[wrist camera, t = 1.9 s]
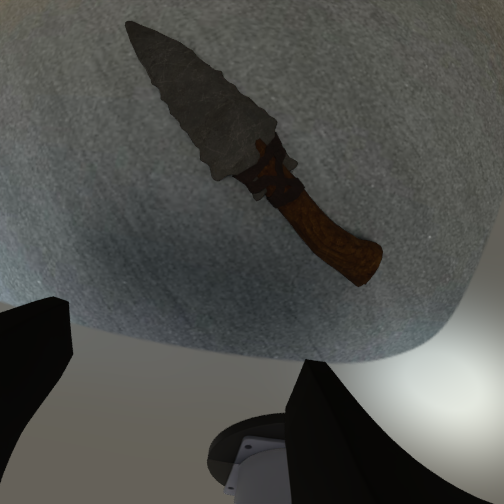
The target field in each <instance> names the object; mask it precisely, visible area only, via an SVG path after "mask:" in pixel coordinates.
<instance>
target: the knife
mask: <svg viewBox="0 0 504 504" xmlns="http://www.w3.org/2000/svg"><path fill="white" fill-rule="evenodd" d="M125 27H126V30H127V33H128V36H129V38H130V41H131V43H132V46H133V48H134V50H135V53H136V55H137V57H138V59H139V60H140V62H141V63H142V65H143V66H144V67H145V69H146V71H147V73H148V75H149V77H150V79H151V83H152V85H155V86H156V87H158V88H159V89H160V93H161V100H163V101H164V102H166V103H167V104H168V107H169V110H170V114H171V115H173V116H174V117H175V118H176V119H177V120H178V121H179V122H180V127H181V128H182V129H183V130H184V131H186V132H187V133H188V135H189V136H190V138H191V140H192V142H193V143H194V144H195V146H196V147H198V148H199V149H200V160H201V161H202V162H204V163H206V164H208V165H209V166H210V171H211V175H212V178H213V179H214V180H216V181H220V180H222V179H223V178H224V177H226V176H227V175H232V177H234V178H236V179H238V180H239V181H240V182H242V183H243V184H245V185H246V187H247V188H248V189H249V191H250V192H251V193H252V195H253V198H254V199H255V200H256V201H258V200H260V199H261V198H262V197H263V196H264V195H266V197H267V200H268V201H269V202H270V203H271V204H272V205H273V207H275V208H277V209H278V210H279V211H280V212H281V213H282V214H283V215H284V217H285V218H286V219H287V220H288V222H289V223H290V224H291V225H292V227H293V228H294V229H295V231H296V232H297V233H298V235H299V236H300V237H301V238H302V239H303V241H304V242H305V243H306V244H307V245H308V247H309V248H310V249H311V250H312V251H313V253H315V254H316V255H317V256H318V257H320V258H321V259H322V260H323V261H325V262H326V263H327V264H329V265H330V266H332V267H333V268H335V269H336V270H337V271H338V272H340V273H341V274H342V275H344V276H345V277H346V278H347V279H348V280H350V281H351V282H352V283H353V284H355V285H356V286H357V287H359V286H362V285H363V284H365V285H366V283H367V282H368V281H369V280H370V279H371V277H372V276H373V275H374V274H375V272H376V270H377V269H378V267H379V265H380V262H381V260H382V255H383V250H382V247H381V246H380V245H379V244H377V243H375V242H372V241H368V240H362V239H358V238H357V237H355V236H353V235H352V234H350V233H348V232H347V231H345V230H344V229H342V228H341V227H339V226H338V225H336V224H335V223H334V222H333V221H332V220H331V219H329V218H328V217H327V216H326V214H325V213H324V212H323V211H322V210H321V209H320V208H319V207H318V206H317V204H316V203H315V202H314V201H313V200H312V199H311V197H310V196H309V195H308V194H307V192H306V191H305V190H304V188H305V187H304V185H303V184H302V183H301V181H300V180H299V179H298V178H295V177H294V176H293V175H292V173H291V172H290V171H291V170H293V169H294V168H295V167H296V166H297V165H298V162H297V161H295V160H293V159H292V158H290V157H289V156H288V155H287V153H286V150H285V149H284V148H283V147H282V143H281V141H280V139H279V137H278V135H277V133H276V132H275V127H276V125H277V121H276V120H275V119H274V118H273V117H271V116H269V115H268V113H267V112H266V111H265V110H264V109H262V108H260V107H258V106H257V105H256V104H255V103H254V102H253V101H252V100H251V99H250V98H249V97H246V96H244V95H243V94H241V93H240V92H239V91H238V90H237V88H236V86H235V85H234V84H232V83H229V82H228V81H227V80H226V79H225V78H224V77H223V75H222V72H221V71H218V70H214V69H213V68H211V67H210V66H209V65H208V64H206V63H204V62H203V61H202V60H201V59H199V58H198V57H197V56H196V55H195V53H194V52H193V51H192V50H191V49H189V48H187V47H185V46H184V45H183V44H182V43H180V42H178V41H176V40H174V39H171V38H169V37H167V36H165V35H163V34H161V33H159V32H157V31H155V30H152V29H150V28H147V27H144V26H142V25H140V24H137V23H135V22H133V21H126V22H125Z"/></svg>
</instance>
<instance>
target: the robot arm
mask: <svg viewBox="0 0 504 504" xmlns="http://www.w3.org/2000/svg"><path fill="white" fill-rule="evenodd" d="M72 356H73V348H72V338H71V327H70V313H69V302H68V301H66V300H63V299H60V298H57V297H54V296H53V297H48V298H44V299H41V300H37V301H34V302H31V303H28V304H25V305H22V306H19V307H16V308H13V309H10V310H7V311H4V312H1V313H0V482H1V479H2V476H3V473H4V471H5V468H6V466H7V463H8V461H9V458H10V456H11V454H12V451H13V450H14V447H15V445H16V443H17V441H18V439H19V437H20V435H21V433H22V432H23V430H24V428H25V427H26V425H27V424H28V422H29V421H30V419H31V418H32V417H33V415H34V414H35V412H36V411H37V409H38V408H39V407H40V405H41V404H42V403H43V401H44V400H45V398H46V397H47V396H48V394H49V393H50V392H51V390H52V389H53V388H54V386H55V385H56V383H57V382H58V381H59V379H60V378H61V376H62V374H63V372H64V371H65V369H66V367H67V365H68V363H69V361H70V359H71V358H72ZM224 493H225V494H227V495H234V496H235V498H234V504H493V503H490V502H487V501H485V500H482V499H480V498H477V497H475V496H473V495H471V494H469V493H467V492H465V491H463V490H461V489H459V488H457V487H455V486H454V485H452V484H450V483H449V482H447V481H445V480H444V479H442V478H441V477H439V476H438V475H436V474H435V473H433V472H432V471H430V470H429V469H427V468H426V467H425V466H423V465H422V464H421V463H419V462H418V461H417V460H415V459H414V458H413V457H412V456H411V455H409V454H408V453H407V452H406V451H405V450H403V449H402V448H401V447H400V446H399V445H398V444H397V443H396V442H395V441H393V440H392V439H391V438H390V437H389V436H388V435H387V434H386V433H385V432H384V431H383V430H382V428H381V427H380V426H379V425H378V424H377V423H376V422H375V421H374V420H373V419H372V418H371V417H370V416H369V415H368V413H367V412H366V411H365V410H364V409H363V408H362V406H361V405H360V404H359V403H358V402H357V400H356V399H355V398H354V397H353V396H352V394H351V393H350V392H349V391H348V390H347V388H346V387H345V386H344V384H343V383H342V382H341V381H340V379H339V378H338V377H337V376H336V374H335V373H334V372H333V371H332V370H331V368H330V367H329V366H328V365H327V363H326V362H321V361H314V360H308V359H305V361H304V364H303V367H302V369H301V372H300V374H299V377H298V379H297V382H296V384H295V386H294V389H293V392H292V394H291V396H290V398H289V401H288V403H287V405H286V409H285V440H281V439H273V438H265V437H257V436H245V437H244V438H243V440H242V442H241V445H240V448H239V450H238V453H237V456H236V459H235V461H234V464H233V467H232V469H231V472H230V475H229V477H228V480H227V482H226V485H225V488H224Z"/></svg>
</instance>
